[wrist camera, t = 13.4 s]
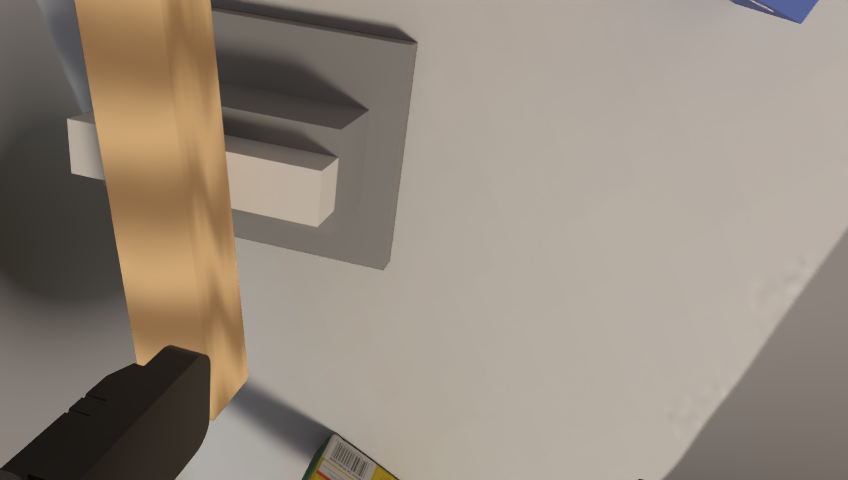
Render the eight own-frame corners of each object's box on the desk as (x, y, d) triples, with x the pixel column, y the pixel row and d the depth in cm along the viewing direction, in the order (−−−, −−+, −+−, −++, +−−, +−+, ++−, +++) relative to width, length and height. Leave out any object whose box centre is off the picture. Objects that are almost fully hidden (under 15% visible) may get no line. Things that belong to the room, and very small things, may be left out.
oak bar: (248, 378, 39) (213, 420, 36) (185, 368, 40) (145, 409, 36) (202, -82, 30) (149, -88, 26) (121, -83, 31) (58, -89, 27)
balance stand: (132, -7, 41) (21, 1, 33) (417, 42, 39) (372, 64, 31) (141, 205, 47) (47, 256, 39) (389, 260, 44) (345, 328, 36)
